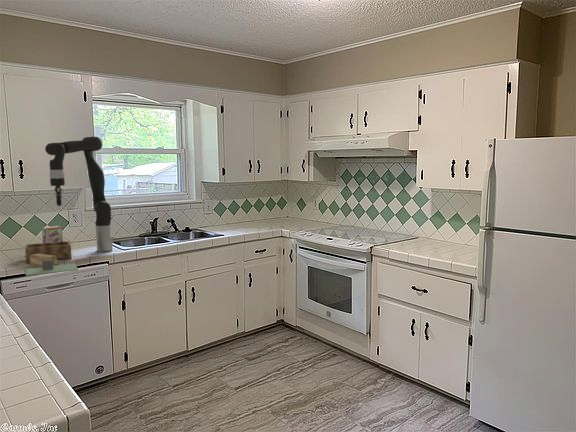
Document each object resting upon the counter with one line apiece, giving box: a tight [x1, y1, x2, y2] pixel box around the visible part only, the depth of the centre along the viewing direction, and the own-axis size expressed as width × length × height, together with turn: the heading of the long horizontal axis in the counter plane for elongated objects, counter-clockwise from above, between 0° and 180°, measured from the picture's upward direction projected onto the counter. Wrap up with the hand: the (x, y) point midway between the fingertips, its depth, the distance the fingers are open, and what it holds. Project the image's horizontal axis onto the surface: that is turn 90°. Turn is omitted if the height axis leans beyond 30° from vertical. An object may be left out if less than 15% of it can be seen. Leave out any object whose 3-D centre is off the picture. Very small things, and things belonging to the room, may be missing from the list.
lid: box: [25, 260, 79, 277], centre depth 248 cm, size 25×15×6 cm, turn 119°
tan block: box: [30, 254, 58, 267], centre depth 260 cm, size 4×16×6 cm, turn 69°
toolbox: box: [24, 240, 72, 265], centre depth 275 cm, size 24×14×9 cm, turn 119°
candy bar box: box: [41, 225, 64, 243], centre depth 297 cm, size 11×5×16 cm, turn 141°
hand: (59, 205), depth 265 cm, fingers open, 8 cm apart
